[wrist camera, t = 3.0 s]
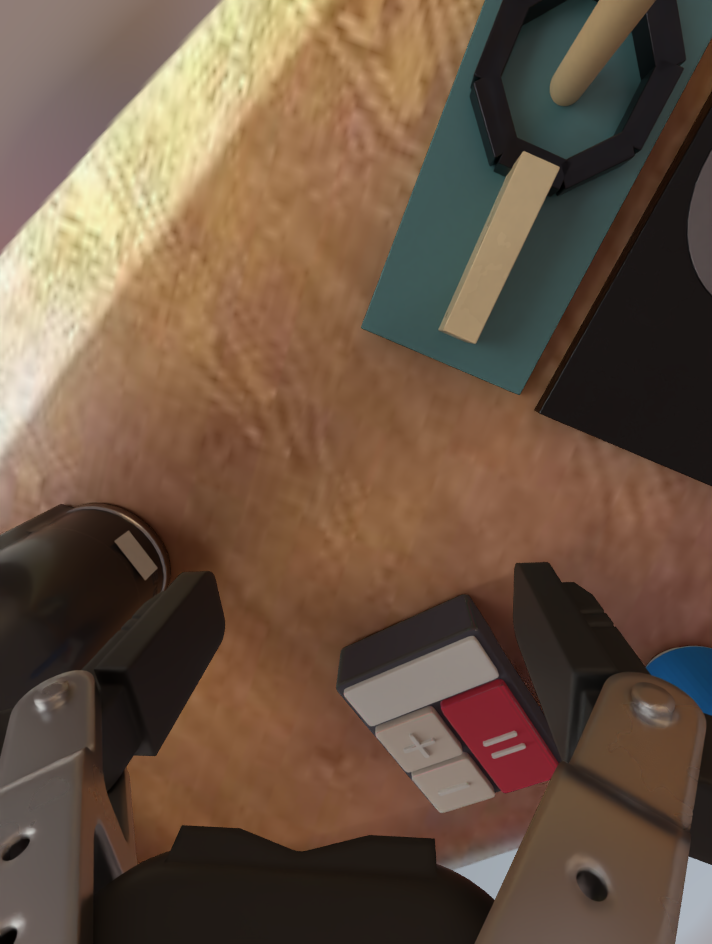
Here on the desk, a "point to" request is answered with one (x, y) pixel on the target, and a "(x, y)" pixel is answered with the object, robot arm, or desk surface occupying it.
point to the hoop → (540, 169)
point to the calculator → (449, 706)
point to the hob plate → (652, 329)
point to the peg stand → (477, 185)
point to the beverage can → (687, 672)
